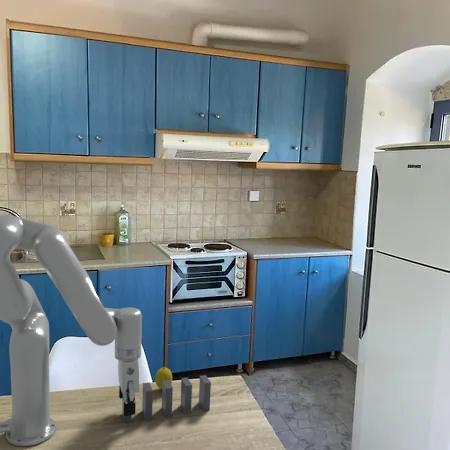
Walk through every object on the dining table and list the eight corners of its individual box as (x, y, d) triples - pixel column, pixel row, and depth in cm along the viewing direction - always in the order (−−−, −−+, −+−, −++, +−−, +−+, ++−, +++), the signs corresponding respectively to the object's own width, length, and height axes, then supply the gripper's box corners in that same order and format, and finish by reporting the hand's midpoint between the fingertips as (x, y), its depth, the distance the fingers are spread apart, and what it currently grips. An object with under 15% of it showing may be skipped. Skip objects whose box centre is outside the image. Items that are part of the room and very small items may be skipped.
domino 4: (184, 413, 138) (185, 386, 137) (180, 405, 143) (181, 378, 141) (191, 412, 139) (192, 385, 138) (186, 404, 143) (187, 377, 142)
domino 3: (165, 416, 136) (166, 388, 135) (161, 408, 141) (162, 380, 139) (171, 415, 137) (172, 387, 135) (167, 407, 141) (168, 379, 140)
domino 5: (203, 410, 140) (204, 383, 139) (198, 402, 145) (199, 375, 144) (209, 409, 141) (210, 382, 140) (204, 401, 146) (205, 375, 144)
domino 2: (145, 419, 134) (145, 391, 133) (142, 410, 139) (142, 383, 137) (152, 418, 135) (152, 390, 133) (148, 409, 139) (149, 382, 138)
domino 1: (128, 412, 137) (129, 384, 136) (131, 422, 133) (132, 393, 131) (122, 413, 137) (122, 385, 135) (124, 423, 132) (125, 394, 131)
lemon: (168, 395, 148) (169, 372, 147) (152, 392, 149) (153, 369, 148) (174, 387, 154) (174, 364, 152) (158, 384, 155) (159, 362, 153)
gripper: (146, 362, 125) (145, 420, 127) (136, 338, 141) (134, 389, 143) (118, 365, 122) (117, 424, 125) (111, 340, 138) (110, 393, 141)
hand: (127, 405), depth 134 cm, fingers open, 9 cm apart
